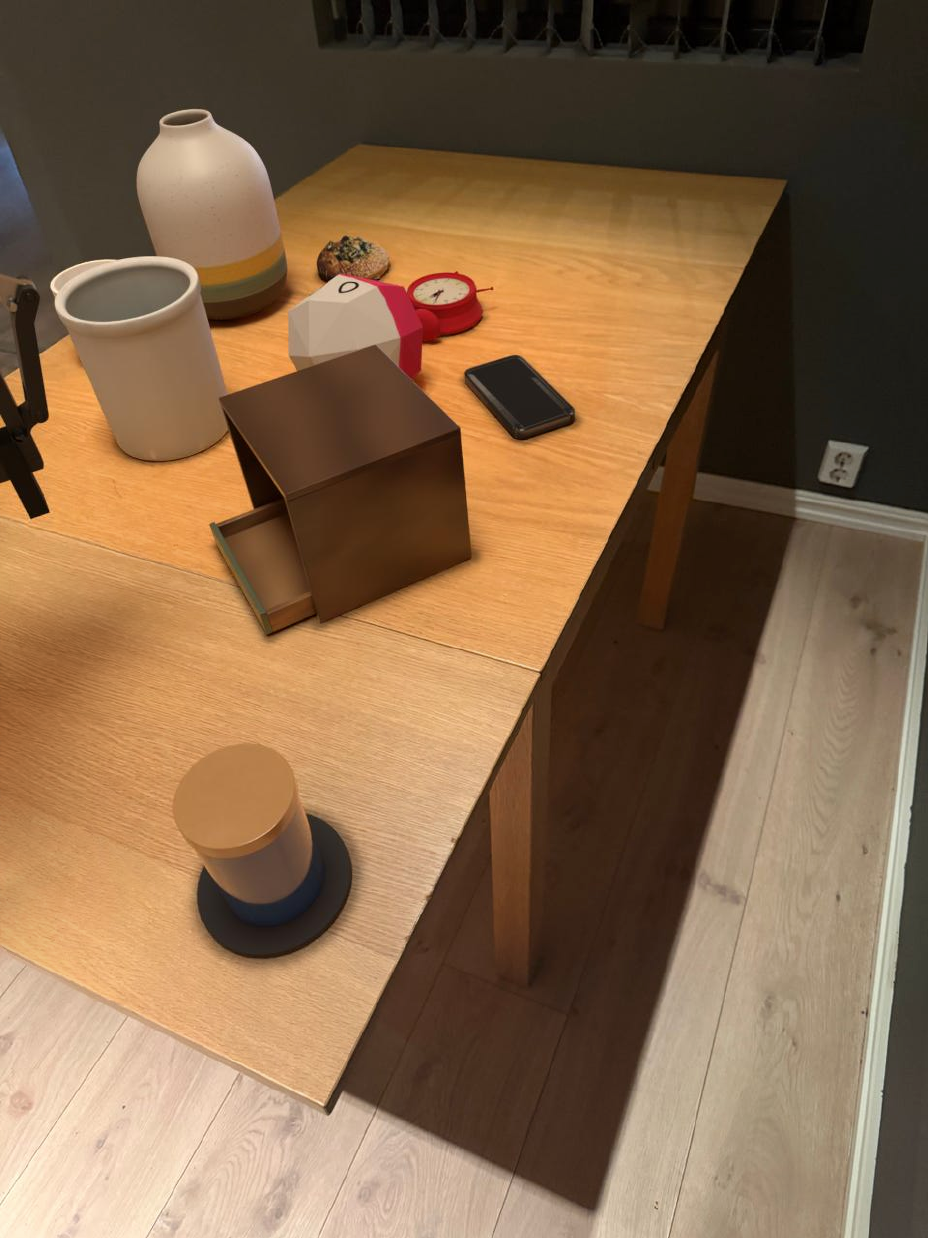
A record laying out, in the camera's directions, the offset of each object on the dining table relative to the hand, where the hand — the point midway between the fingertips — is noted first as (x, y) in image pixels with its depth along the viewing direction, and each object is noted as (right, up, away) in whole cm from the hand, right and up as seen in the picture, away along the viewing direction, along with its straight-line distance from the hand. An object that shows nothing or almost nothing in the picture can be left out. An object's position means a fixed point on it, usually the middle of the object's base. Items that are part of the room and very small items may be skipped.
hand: (37, 506), depth 69 cm
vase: (+1, +36, +57) cm, 67 cm away
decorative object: (+22, +18, +38) cm, 47 cm away
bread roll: (+17, +43, +61) cm, 77 cm away
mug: (-11, +27, +49) cm, 57 cm away
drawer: (+19, -3, +18) cm, 26 cm away
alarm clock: (+30, +31, +49) cm, 65 cm away
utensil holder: (-1, +14, +36) cm, 38 cm away
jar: (+20, -27, -6) cm, 34 cm away
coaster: (+20, -28, -6) cm, 35 cm away
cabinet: (+23, -1, +19) cm, 30 cm away
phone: (+40, +17, +34) cm, 55 cm away
